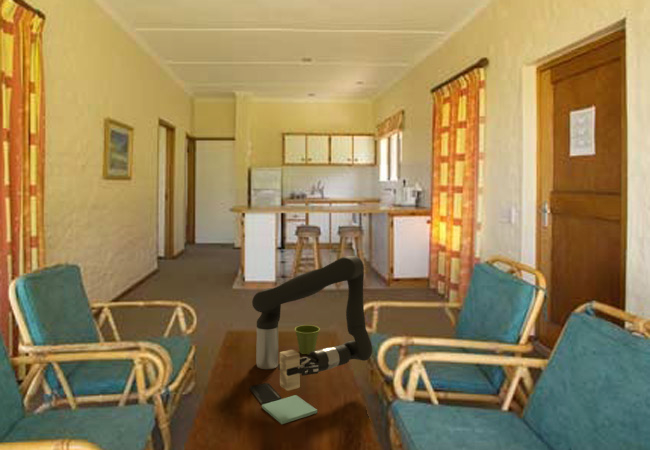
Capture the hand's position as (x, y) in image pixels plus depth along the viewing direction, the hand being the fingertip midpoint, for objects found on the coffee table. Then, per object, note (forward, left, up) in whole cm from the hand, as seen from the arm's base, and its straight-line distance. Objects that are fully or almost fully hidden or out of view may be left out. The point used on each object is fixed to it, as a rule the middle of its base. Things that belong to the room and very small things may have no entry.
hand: (283, 370), depth 161 cm
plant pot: (-44, +39, -15) cm, 61 cm away
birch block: (0, +3, -6) cm, 7 cm away
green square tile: (0, +3, -15) cm, 15 cm away
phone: (-16, +2, -16) cm, 22 cm away
